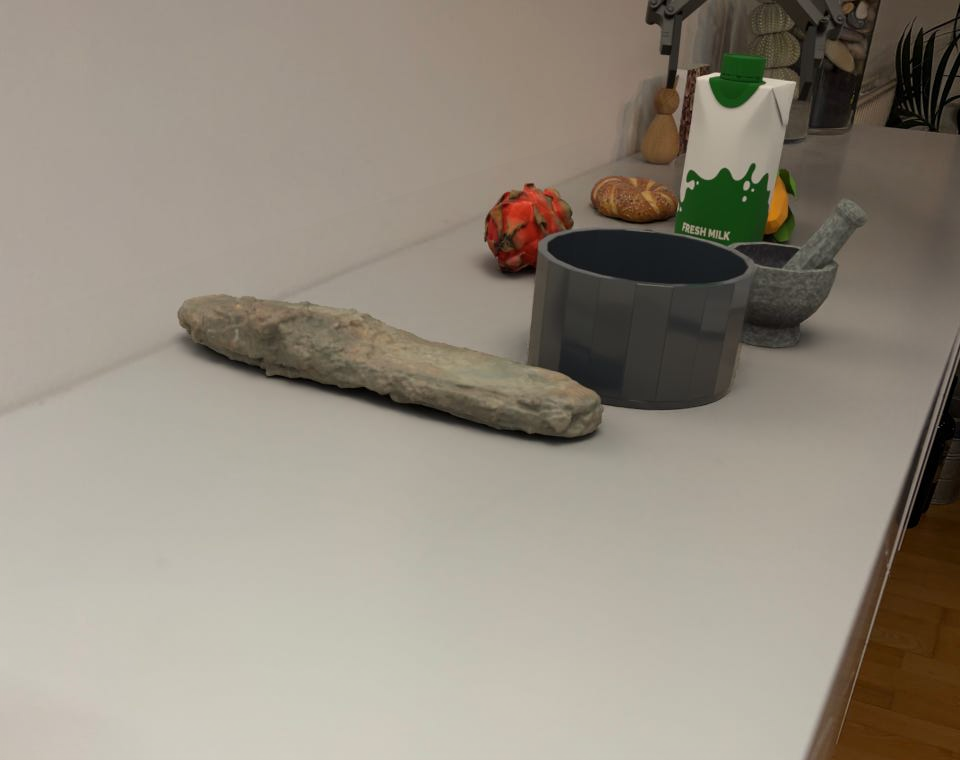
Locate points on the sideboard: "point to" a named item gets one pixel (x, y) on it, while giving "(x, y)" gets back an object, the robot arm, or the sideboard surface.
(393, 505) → the sideboard surface
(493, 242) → the dragon fruit
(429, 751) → the sideboard surface
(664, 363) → the pot
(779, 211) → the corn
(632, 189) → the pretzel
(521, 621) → the sideboard surface
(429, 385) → the long grey stone
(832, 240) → the mortar and pestle
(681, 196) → the milk carton
